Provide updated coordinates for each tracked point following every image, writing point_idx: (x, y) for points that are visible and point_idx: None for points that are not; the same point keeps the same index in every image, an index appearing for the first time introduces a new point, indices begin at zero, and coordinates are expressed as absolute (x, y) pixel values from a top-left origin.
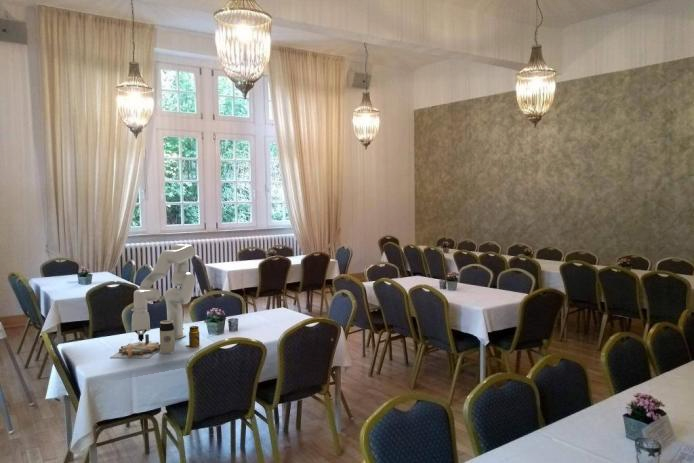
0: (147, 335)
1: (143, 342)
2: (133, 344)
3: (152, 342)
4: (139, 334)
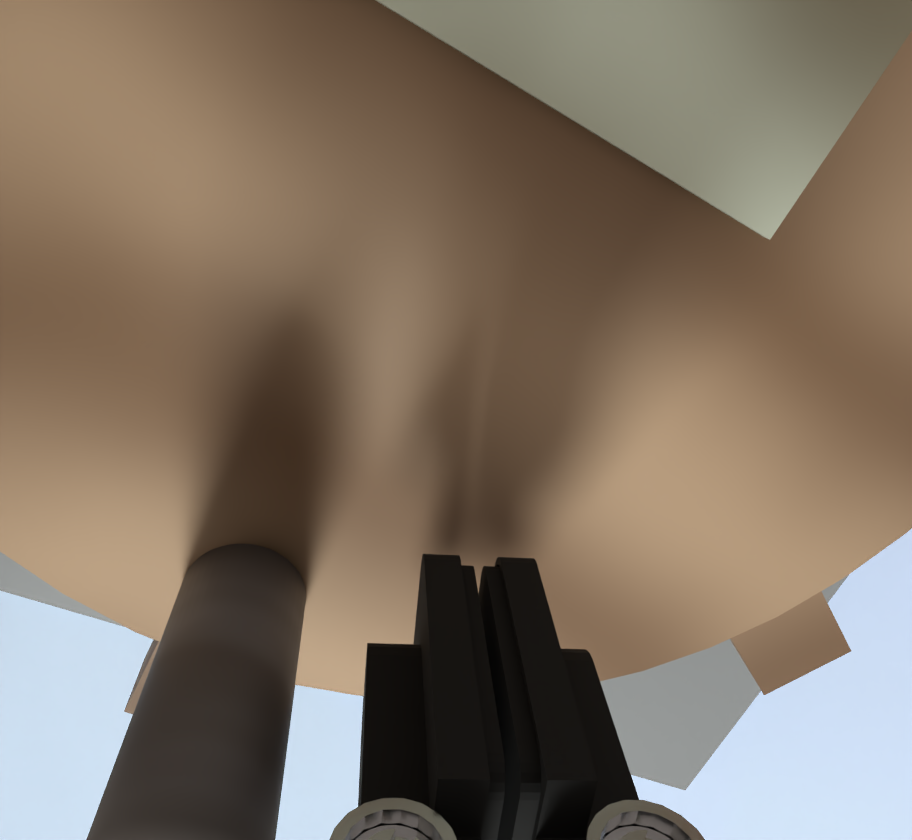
0: (149, 786)
1: None
2: (711, 525)
3: (47, 560)
4: (593, 819)
